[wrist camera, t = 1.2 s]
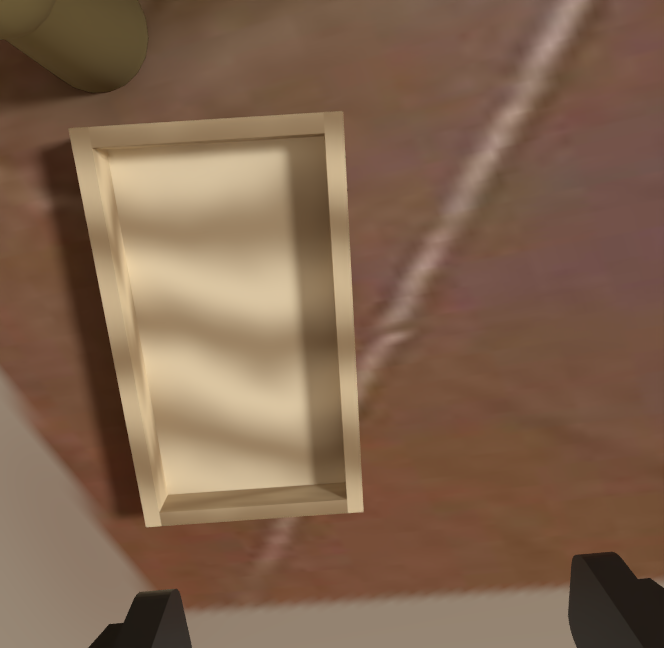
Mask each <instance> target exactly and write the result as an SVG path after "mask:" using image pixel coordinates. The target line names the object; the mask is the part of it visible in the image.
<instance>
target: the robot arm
mask: <svg viewBox="0 0 664 648" xmlns="http://www.w3.org/2000/svg"><path fill="white" fill-rule="evenodd" d="M568 617H569V624H570V629H571V633H572V636H573V639H574V641H575V644H576V647H577V648H664V588H663V587H662V586H660V585H659V584H657V583H656V582H655V581H653V580H652V579H651V578H646V579H637V578H636V576H635V575H634V574H633V572H632V571H631V570H630V569H629V567H628V566H627V565H626V563H625V562H624V561H623V560H622V558H621V557H620V556H619V555H618V554H616V553H615V552H603V553H592V554H581V555H575V556H574V557H573V559H572V564H571V579H570V594H569V609H568ZM89 648H192V645H191V641H190V636H189V631H188V627H187V622H186V618H185V613H184V609H183V604H182V600H181V596H180V593H179V591H178V590H177V589H168V590H157V591H146V592H139V593H138V594H137V595H136V597H135V598H134V600H133V602H132V605H131V607H130V609H129V612H128V614H127V616H126V619H125V621H124V623H117V624H109V625H108V626H107V627H106V628H105V630H104V631H103V632H102V633H101V634H100V635H99V636H98V638H97V639H96V640H95V641H94V642H93V643H92V644H91V645H90V647H89Z"/></svg>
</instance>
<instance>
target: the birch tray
mask: <svg viewBox="0 0 664 648" xmlns="http://www.w3.org/2000/svg"><path fill="white" fill-rule="evenodd" d="M68 129H69V134H70V140H71V145H72V150H73V155H74V160H75V165H76V170H77V175H78V181H79V186H80V191H81V196H82V201H83V206H84V211H85V216H86V222H87V227H88V232H89V237H90V242H91V247H92V252H93V257H94V263H95V268H96V273H97V278H98V283H99V288H100V293H101V298H102V304H103V309H104V314H105V319H106V324H107V329H108V334H109V339H110V345H111V350H112V355H113V360H114V365H115V370H116V375H117V380H118V386H119V391H120V396H121V401H122V406H123V411H124V416H125V421H126V427H127V432H128V437H129V442H130V447H131V452H132V457H133V462H134V468H135V473H136V478H137V483H138V488H139V493H140V498H141V503H142V509H143V514H144V519H145V524H146V527H155V526H169V525H183V524H198V523H212V522H226V521H240V520H255V519H269V518H283V517H297V516H312V515H326V514H340V513H354V512H363V494H362V475H361V455H360V436H359V416H358V396H357V377H356V357H355V338H354V318H353V298H352V279H351V259H350V239H349V220H348V200H347V181H346V161H345V141H344V122H343V111H337V112H320V113H304V114H288V115H272V116H256V117H240V118H224V119H208V120H192V121H176V122H160V123H144V124H128V125H112V126H96V127H80V128H68Z"/></svg>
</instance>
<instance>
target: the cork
mask: <svg viewBox="0 0 664 648" xmlns="http://www.w3.org/2000/svg"><path fill="white" fill-rule="evenodd" d="M3 39H5V40H6V41H8V42H9V43H10V44H12V45H13V46H15V47H16V48H18V49H19V50H20V51H22V52H23V53H25V54H26V55H27V56H29V57H30V58H32V59H33V60H34V61H36V62H37V63H39V64H40V65H41V66H43V67H44V68H46V69H47V70H49V71H50V72H51V73H53V74H54V75H56V76H57V77H58V78H60V79H62V80H63V81H65V82H66V83H68V84H69V85H71V86H72V87H74V88H77V89H80V90H84V91H87V92H91V93H97V92H110V91H113V90H115V89H117V88H120V87H122V86H124V85H126V84H127V83H128V82H129V81H130V80H131V79H132V78H133V77H134V76H135V75H136V74H137V73H138V71H139V69H140V67H141V65H142V63H143V61H144V59H145V57H146V51H147V44H148V32H147V24H146V18H145V15H144V13H143V11H142V9H141V6H140V4H139V2H138V0H0V40H3Z"/></svg>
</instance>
